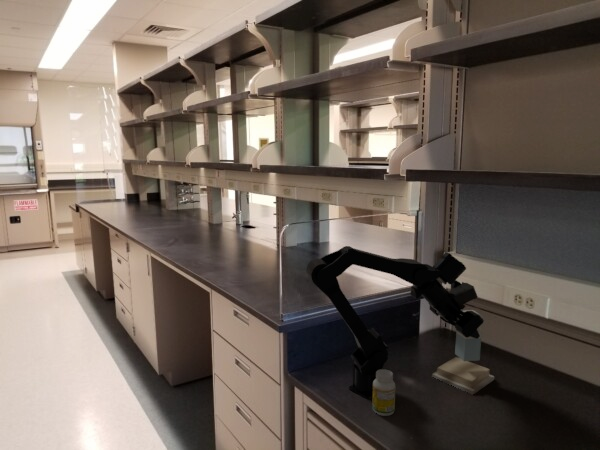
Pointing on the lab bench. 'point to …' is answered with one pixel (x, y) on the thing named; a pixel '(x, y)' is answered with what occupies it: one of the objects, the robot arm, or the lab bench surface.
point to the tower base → (464, 375)
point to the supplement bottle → (383, 393)
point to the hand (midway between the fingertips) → (473, 333)
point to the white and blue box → (468, 344)
